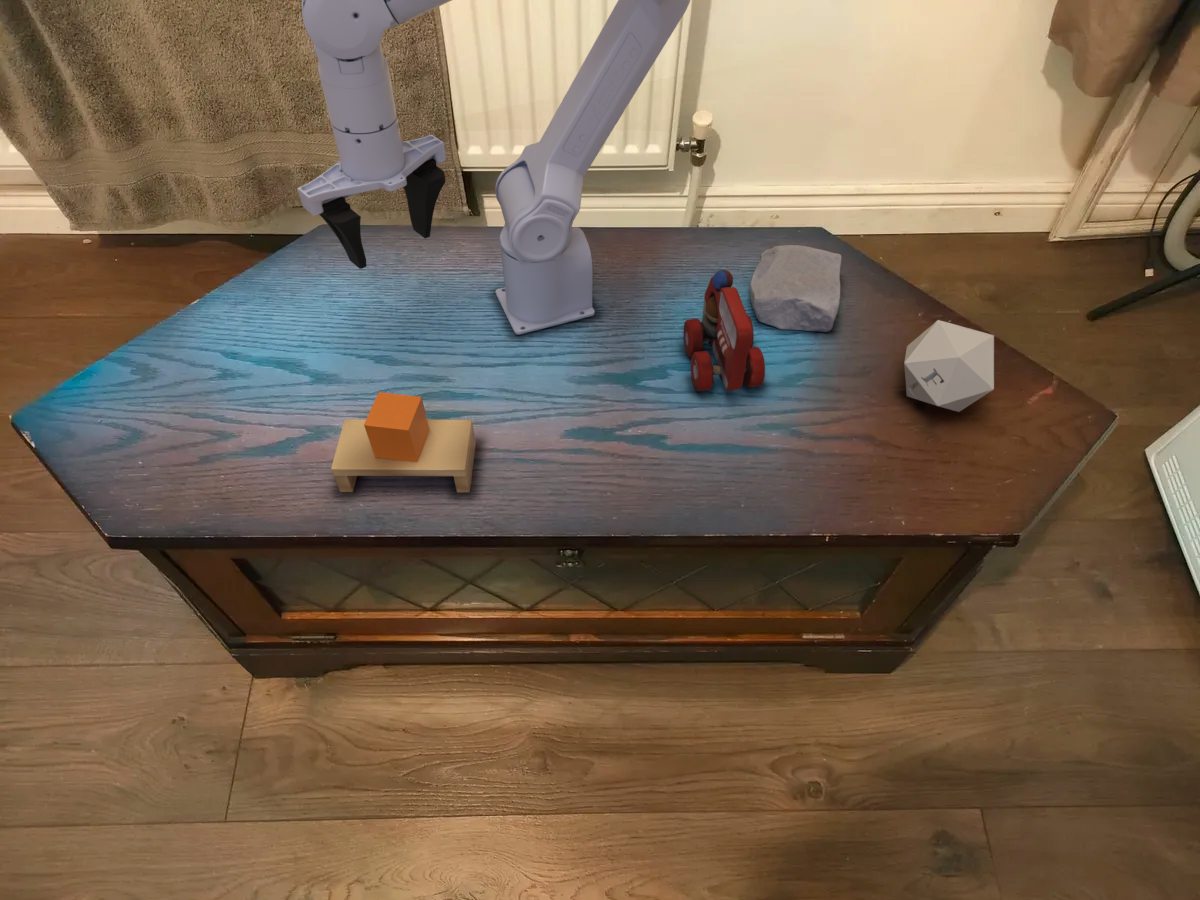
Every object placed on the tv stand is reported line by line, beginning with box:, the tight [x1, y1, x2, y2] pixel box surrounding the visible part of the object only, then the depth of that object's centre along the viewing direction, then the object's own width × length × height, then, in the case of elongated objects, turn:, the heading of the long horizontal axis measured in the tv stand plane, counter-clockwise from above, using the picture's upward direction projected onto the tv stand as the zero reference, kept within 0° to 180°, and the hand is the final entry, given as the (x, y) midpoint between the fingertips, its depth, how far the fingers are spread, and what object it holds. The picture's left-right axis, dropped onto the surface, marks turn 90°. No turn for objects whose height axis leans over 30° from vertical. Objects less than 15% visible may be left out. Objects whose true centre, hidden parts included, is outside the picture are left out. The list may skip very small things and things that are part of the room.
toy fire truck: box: [683, 269, 766, 392], centre depth 79 cm, size 7×12×10 cm, turn 6°
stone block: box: [749, 244, 842, 333], centre depth 89 cm, size 12×5×10 cm
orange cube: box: [364, 391, 429, 462], centre depth 69 cm, size 4×4×4 cm
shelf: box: [330, 418, 477, 493], centre depth 72 cm, size 12×6×4 cm, turn 90°
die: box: [903, 319, 995, 413], centre depth 78 cm, size 8×9×10 cm
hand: (390, 247), depth 78 cm, fingers open, 7 cm apart
